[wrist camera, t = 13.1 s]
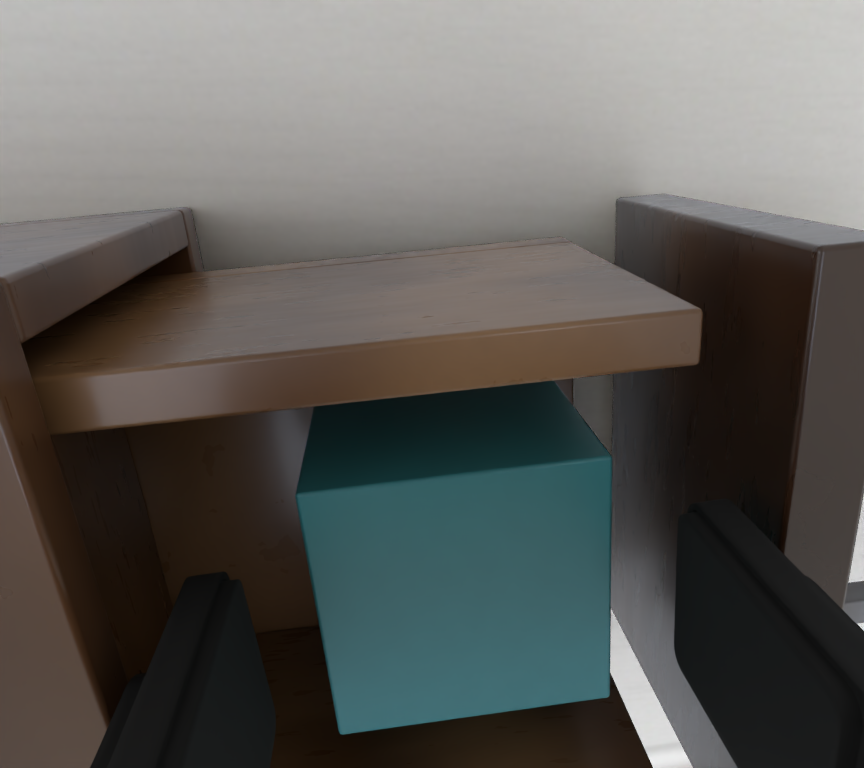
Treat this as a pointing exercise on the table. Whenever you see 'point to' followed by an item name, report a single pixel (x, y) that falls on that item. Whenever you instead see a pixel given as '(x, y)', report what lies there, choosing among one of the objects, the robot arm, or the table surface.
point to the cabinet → (59, 486)
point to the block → (458, 554)
